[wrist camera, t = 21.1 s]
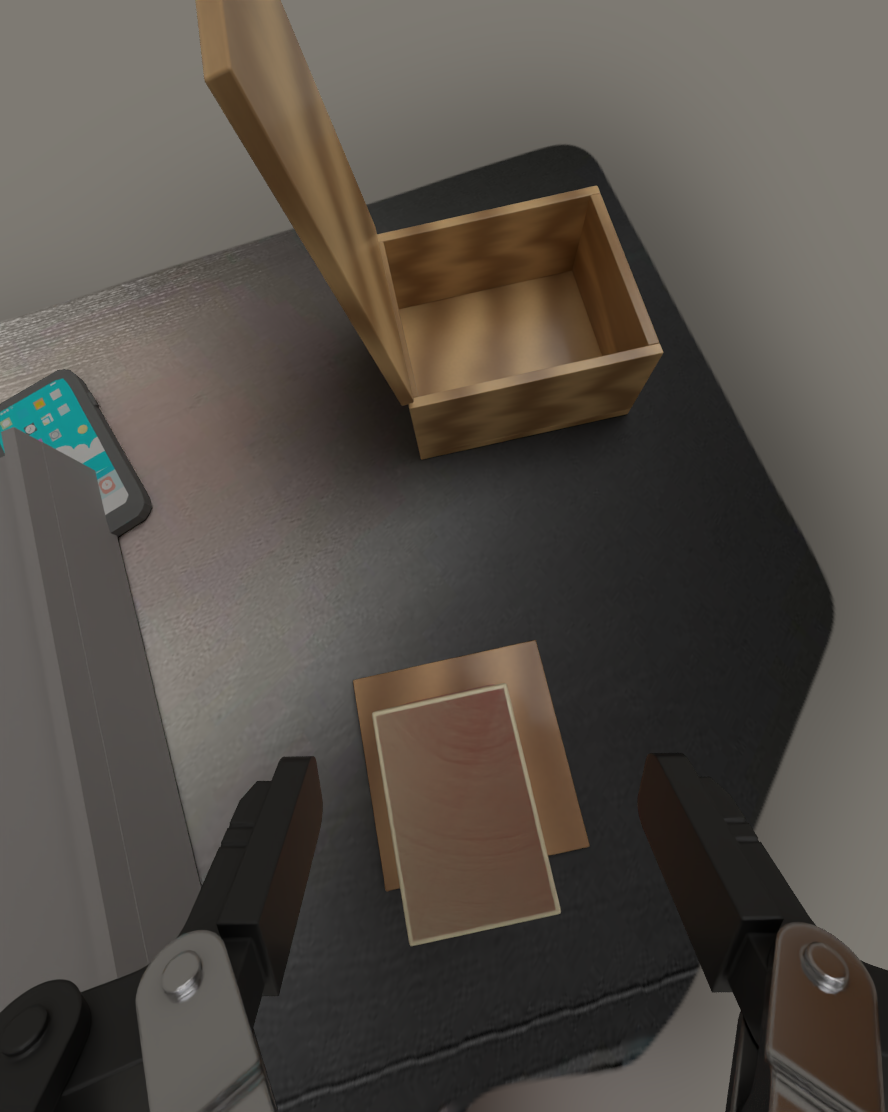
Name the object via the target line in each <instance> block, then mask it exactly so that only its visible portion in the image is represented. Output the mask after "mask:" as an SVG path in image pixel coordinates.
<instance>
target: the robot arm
mask: <svg viewBox="0 0 888 1112" xmlns="http://www.w3.org/2000/svg"><path fill="white" fill-rule="evenodd" d="M322 812H323V801H322V794H321V788H320V782H319V775H318V769H317V763H316V759H315V757H314V756H296V757H282V758H281V759H280V761H279V763H278V766H277V768H276V771H275V773H274V776H273V779H272V781H257V782H256V783H255V784H254V785H253V786H252V788H251V789H250V790H249V791H248V792H247V793H246V794H245V795H244V797H243V798H242V799H241V800H240V801H239V804H238V806H237V808H236V810H235V813H234V815H233V817H232V819H231V822H230V826H229V828H227V831H226V833H225V835H224V837H223V840H222V842H221V847H219V849H218V851H217V853H216V856H215V858H214V860H213V862H212V865H211V867H210V869H209V871H208V874H207V876H206V878H205V881H204V883H203V885H202V887H201V890H200V892H199V894H198V896H197V899H196V901H195V903H194V905H193V908H192V910H191V912H190V915H189V917H188V919H187V921H186V923H185V925H184V927H183V929H182V930H181V932H180V933H179V935H178V936H177V938H176V939H174V940H173V941H171V942H170V943H169V944H167V945H166V946H165V947H164V948H163V949H162V950H161V951H160V952H159V953H158V954H157V955H156V956H155V957H154V958H153V960H152V961H151V963H149V964H148V965H146V966H145V967H143V968H141V969H140V970H138V971H135V972H133V973H131V974H128V975H126V976H123V977H120V978H118V979H115V980H112V981H109V982H107V983H104V984H101V985H99V986H96V987H93V988H91V989H88V990H85V991H83V992H80V990H79V988H78V987H77V986H76V985H75V984H74V983H73V982H71V981H69V980H65V979H56V980H50V981H47V982H44V983H41V984H39V985H37V986H35V987H33V988H31V989H29V990H28V991H26V992H24V993H23V994H21V995H20V996H19V997H17V998H16V999H15V1000H13V1001H12V1002H11V1003H10V1004H9V1005H8V1006H7V1007H5V1008H4V1009H3V1010H2V1011H1V1012H0V1112H279V1111H278V1107H277V1104H276V1101H275V1097H274V1094H273V1091H272V1088H271V1084H270V1081H269V1078H268V1075H267V1071H266V1068H265V1065H264V1061H263V1058H262V1055H261V1052H260V1048H259V1045H258V1042H257V1038H256V1035H255V1032H254V1029H253V1026H254V1023H255V1019H256V1015H257V1012H258V1008H259V1004H260V1001H261V997H262V996H279V992H280V988H281V984H282V980H283V976H284V972H285V968H286V964H287V960H288V956H289V952H290V948H291V944H292V940H293V936H294V932H295V928H296V924H297V920H298V916H299V912H300V908H301V904H302V900H303V896H304V892H305V888H306V884H307V880H308V876H309V872H310V868H311V864H312V860H313V856H314V852H315V848H316V844H317V840H318V836H319V832H320V827H321V821H322ZM638 812H639V817H640V821H641V824H642V827H643V829H644V832H645V834H646V836H647V839H648V841H649V843H650V846H651V848H652V851H653V853H654V855H655V858H656V860H657V863H658V865H659V867H660V870H661V872H662V874H663V877H664V879H665V882H666V884H667V886H668V889H669V891H670V893H671V896H672V898H673V901H674V903H675V905H676V908H677V910H678V912H679V915H680V917H681V920H682V922H683V924H684V927H685V929H686V931H687V934H688V936H689V939H690V941H691V943H692V946H693V948H694V950H695V953H696V955H697V958H698V960H699V962H700V965H701V967H702V969H703V972H704V974H705V977H706V979H707V981H708V984H709V986H710V988H711V991H712V992H733V994H734V996H735V998H736V1000H737V1003H738V1005H739V1007H740V1009H741V1012H740V1014H739V1019H738V1024H737V1032H736V1040H735V1046H734V1053H733V1061H732V1068H731V1075H730V1083H729V1089H728V1097H727V1104H726V1111H725V1112H888V970H885V969H882V968H878V967H875V966H873V965H870V964H868V963H865V962H863V961H861V960H859V958H858V957H857V956H856V955H855V954H854V953H853V952H852V951H851V950H850V949H849V948H848V947H847V946H846V945H845V944H844V943H843V942H842V941H840V940H839V939H838V938H836V937H835V936H834V935H832V934H830V933H829V932H827V931H825V930H823V929H821V928H819V927H817V926H816V925H815V924H814V922H813V921H812V920H811V919H810V917H809V916H808V914H807V913H806V911H805V910H804V908H803V906H802V905H801V904H800V902H799V900H798V899H797V897H796V896H795V894H794V893H793V891H792V890H791V888H790V886H789V885H788V883H787V882H786V880H785V879H784V877H783V876H782V874H781V872H780V871H779V869H778V868H777V866H776V865H775V863H774V862H773V860H772V859H771V857H770V855H769V854H768V852H767V851H766V849H765V848H764V846H763V845H762V843H761V842H759V841H758V837H757V835H756V834H755V832H754V831H753V829H752V828H751V826H750V825H749V823H747V822H746V818H745V817H744V815H743V814H742V812H741V811H740V809H739V807H738V806H737V804H736V803H735V801H734V800H733V798H732V797H731V795H729V794H728V793H727V792H726V791H725V790H724V789H723V788H722V787H721V786H719V785H718V784H717V783H716V782H715V781H714V780H713V779H712V778H711V777H699V776H698V775H697V773H696V771H695V770H694V768H693V766H692V765H691V763H690V761H689V760H688V758H687V757H686V756H685V755H684V754H682V753H650V754H648V756H647V758H646V762H645V767H644V771H643V776H642V780H641V785H640V789H639V794H638Z"/></svg>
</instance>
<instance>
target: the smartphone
mask: <svg viewBox="0 0 888 1112" xmlns="http://www.w3.org/2000/svg"><path fill="white" fill-rule="evenodd" d="M12 427H15V428H17V429H18V430H20V431H22V432H24V433H26V434H28V435H30V436H31V437H33V438H35V439H37V440H39V441H41V442H43V443H45V444H47V445H49V446H51V447H53V448H54V449H56V450H58V451H60V452H62V453H64V454H65V455H67V456H69V457H71V458H73V459H75V460H76V461H78V462H80V463H82V464H84V465H86V466H88V467H89V468H91V469H93V470H95V472H96V476H97V481H98V485H99V490H100V494H101V498H102V503H103V507H104V512H105V516H106V520H107V524H108V527H109V530H110V533H112V534H114V535H117V537H118V536H120V535H121V534H123V533H125V532H126V531H128V530H129V529H131V528H132V527H134V526H136V525H137V524H139V523H140V522H142V521H143V520H145V519H146V517H147V516H148V515H149V513H150V510H151V507H152V506H151V502H150V498H149V496H148V494H147V492H146V490H145V488H144V487H143V485H142V483H141V481H140V480H139V478H138V476H137V474H136V473H135V471H134V469H133V467H132V466H131V464H130V462H129V460H128V458H127V457H126V455H125V453H124V451H123V450H122V448H121V446H120V444H119V443H118V441H117V439H116V437H115V436H114V434H113V432H112V430H111V428H110V427H109V425H108V423H107V421H106V420H105V418H104V416H103V414H102V413H101V411H100V409H99V405H98V404H97V402H96V400H95V398H94V396H93V395H92V393H91V392H90V391H89V390H88V388H87V386H86V385H85V383H84V382H83V380H81V379H80V378H79V377H78V376H77V375H75V374H74V373H73V372H72V371H71V370H65V369H63V370H57V371H55V372H54V373H52V374H50V375H49V376H47V377H45V378H43V379H42V380H40V381H38V382H37V383H35V384H33V385H32V386H30V387H28V388H26V389H25V390H23V391H21V392H20V393H18V394H16V395H14V396H13V397H11V398H9V399H8V400H6V401H4V402H2V403H1V404H0V458H1V457H3V456H5V452H4V446H3V441H2V435H1V432H2V431H5V430H7V429H10V428H12Z"/></svg>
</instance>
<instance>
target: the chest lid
mask: <svg viewBox="0 0 888 1112" xmlns="http://www.w3.org/2000/svg"><path fill="white" fill-rule="evenodd" d="M196 9H197V18H198V27H199V36H200V45H201V54H202V63H203V71H204V79H205V82H206V84H207V86H208V87H209V89H210V91H211V92H212V94H213V96H214V97H215V99H216V101H217V102H218V104H219V106H220V107H221V109H222V110H223V112H224V114H225V115H226V117H227V119H228V120H229V122H230V124H231V125H232V127H233V129H234V130H235V132H236V133H237V135H238V137H239V139H240V140H241V142H242V143H243V145H244V147H245V148H246V150H247V152H248V153H249V155H250V157H251V158H252V160H253V162H254V163H255V165H256V166H257V168H258V170H259V171H260V173H261V175H262V176H263V178H264V180H265V181H266V183H267V184H268V186H269V188H270V189H271V191H272V193H273V195H274V196H275V198H276V199H277V201H278V203H279V204H280V206H281V208H282V209H283V211H284V213H285V214H286V216H287V217H288V219H289V221H290V223H291V224H292V226H293V228H294V229H295V231H296V232H297V234H298V236H299V237H300V239H301V241H302V242H303V244H304V246H305V247H306V249H307V251H308V252H309V254H310V256H311V257H312V259H313V260H314V262H315V264H316V265H317V267H318V269H319V270H320V272H321V274H322V275H323V277H324V279H325V280H326V282H327V284H328V285H329V287H330V288H331V290H332V292H333V293H334V295H335V297H336V298H337V300H338V302H339V303H340V305H341V307H342V308H343V310H344V312H345V313H346V315H347V316H348V318H349V320H350V321H351V323H352V325H353V326H354V328H355V330H356V331H357V333H358V335H359V336H360V338H361V340H362V341H363V343H364V344H365V346H366V348H367V349H368V351H369V353H370V354H371V356H372V358H373V359H374V361H375V363H376V364H377V366H378V368H379V369H380V371H381V373H382V374H383V376H384V377H385V379H386V381H387V382H388V384H389V386H390V387H391V389H392V391H393V392H394V394H395V396H396V397H397V399H398V401H399V402H400V404H401V405H402V406H404V405H407V404H410V403H413V402H414V398H413V394H412V389H411V385H410V380H409V376H408V371H407V367H406V363H405V358H404V354H403V349H402V345H401V340H400V336H399V331H398V327H397V322H396V318H395V313H394V309H393V304H392V300H391V295H390V291H389V286H388V282H387V277H386V273H385V269H384V264H383V260H382V255H381V251H380V246H379V242H378V237H377V233H376V228H375V225H374V223H373V220H372V218H371V216H370V213H369V211H368V208H367V206H366V204H365V201H364V199H363V196H362V194H361V192H360V189H359V187H358V185H357V182H356V180H355V177H354V175H353V173H352V170H351V168H350V165H349V163H348V161H347V158H346V156H345V153H344V151H343V149H342V146H341V144H340V142H339V139H338V137H337V134H336V132H335V129H334V127H333V125H332V122H331V120H330V117H329V115H328V113H327V110H326V108H325V106H324V103H323V101H322V98H321V96H320V94H319V91H318V89H317V87H316V84H315V82H314V80H313V77H312V75H311V72H310V70H309V68H308V65H307V63H306V60H305V58H304V55H303V53H302V50H301V48H300V46H299V43H298V41H297V39H296V36H295V34H294V31H293V29H292V27H291V24H290V22H289V19H288V17H287V15H286V12H285V10H284V8H283V5H282V3H281V0H196Z"/></svg>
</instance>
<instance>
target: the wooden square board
mask: <svg viewBox="0 0 888 1112" xmlns="http://www.w3.org/2000/svg"><path fill="white" fill-rule="evenodd" d="M502 683H505V684H507V687H508V691H509V696H510V700H511V704H512V708H513V712H514V717H515V721H516V725H517V729H518V733H519V737H520V742H521V746H522V750H523V754H524V758H525V763H526V767H527V771H528V775H529V779H530V783H531V788H532V792H533V796H534V800H535V804H536V809H537V813H538V817H539V821H540V825H541V829H542V834H543V838H544V842H545V846H546V850H547V855H548V856H549V855H554V854H558V853H563V852H567V851H572V850H577V849H581V848H586V847H589V846H590V845H589V841H588V838H587V834H586V830H585V826H584V822H583V819H582V815H581V811H580V807H579V803H578V799H577V796H576V792H575V788H574V784H573V780H572V776H571V773H570V769H569V765H568V761H567V757H566V754H565V750H564V746H563V742H562V738H561V734H560V731H559V727H558V723H557V719H556V715H555V711H554V708H553V704H552V700H551V696H550V692H549V688H548V685H547V681H546V677H545V673H544V669H543V666H542V662H541V658H540V654H539V650H538V646H537V643H536V640H533V641H528V642H524V643H519V644H515V645H510V646H506V647H501V648H497V649H492V650H488V651H483V652H478V653H474V654H469V655H465V656H460V657H456V658H451V659H447V660H442V661H438V662H433V663H429V664H424V665H420V666H415V667H410V668H406V669H401V670H397V671H392V672H388V673H383V674H379V675H374V676H370V677H365V678H361V679H356V680H353V684H354V691H355V697H356V704H357V710H358V716H359V723H360V729H361V736H362V742H363V748H364V755H365V761H366V768H367V774H368V780H369V787H370V793H371V800H372V806H373V812H374V819H375V825H376V832H377V838H378V845H379V851H380V857H381V864H382V870H383V877H384V883H385V889H386V891H390V890H394V889H399V888H400V884H399V878H398V871H397V865H396V859H395V853H394V847H393V841H392V835H391V829H390V822H389V816H388V810H387V804H386V798H385V792H384V786H383V779H382V773H381V767H380V761H379V755H378V749H377V743H376V737H375V730H374V724H373V718H372V713H373V712H375V711H379V710H384V709H388V708H393V707H397V706H401V705H403V704H406V703H409V702H413V701H417V700H422V699H427V698H431V697H436V696H440V695H445V694H449V693H454V692H458V691H463V690H467V689H472V688H476V687H481V686H486V685H490V684H495V685H497V684H502Z"/></svg>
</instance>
